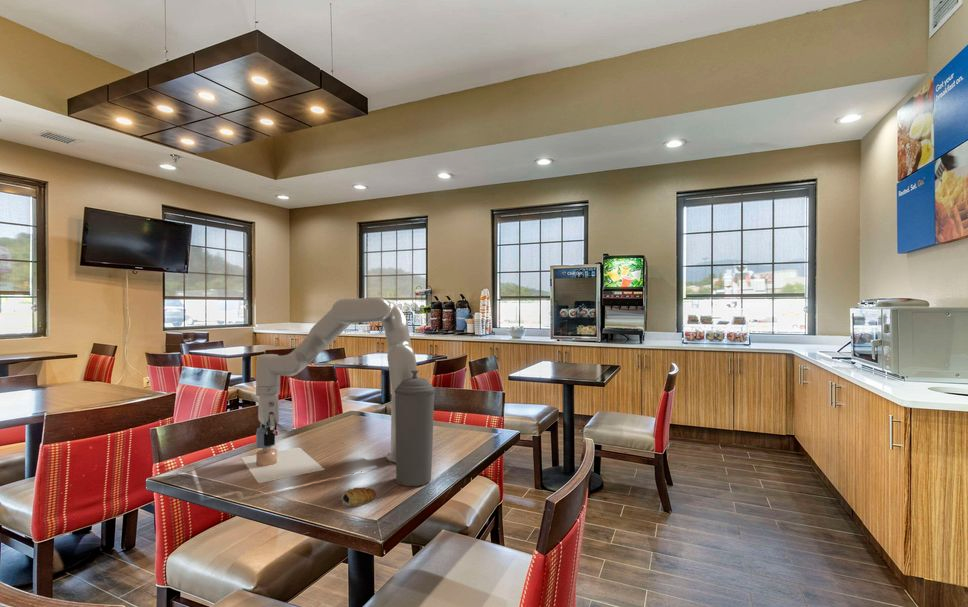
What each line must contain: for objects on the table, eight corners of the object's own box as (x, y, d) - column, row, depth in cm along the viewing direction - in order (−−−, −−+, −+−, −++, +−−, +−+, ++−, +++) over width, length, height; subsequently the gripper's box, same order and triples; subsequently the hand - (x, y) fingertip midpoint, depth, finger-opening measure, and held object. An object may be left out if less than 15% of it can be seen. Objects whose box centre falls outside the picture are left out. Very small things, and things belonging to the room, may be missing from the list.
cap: (277, 443, 154) (278, 426, 154) (267, 448, 149) (268, 430, 149) (263, 443, 155) (263, 426, 155) (252, 447, 150) (253, 429, 150)
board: (325, 472, 146) (325, 469, 146) (258, 486, 134) (258, 483, 134) (299, 450, 170) (299, 447, 170) (240, 460, 158) (240, 457, 158)
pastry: (369, 493, 130) (369, 480, 131) (381, 500, 126) (381, 487, 126) (339, 502, 124) (339, 488, 124) (350, 510, 119) (350, 496, 119)
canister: (440, 483, 138) (442, 371, 139) (402, 492, 131) (403, 373, 132) (423, 471, 148) (425, 366, 149) (387, 478, 142) (388, 368, 143)
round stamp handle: (279, 463, 151) (279, 431, 152) (258, 467, 148) (259, 434, 148) (274, 458, 157) (275, 427, 157) (254, 462, 153) (255, 430, 153)
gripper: (286, 392, 148) (285, 447, 148) (273, 385, 162) (272, 435, 161) (261, 395, 144) (260, 451, 143) (251, 387, 157) (249, 439, 157)
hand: (267, 442), depth 152 cm, fingers closed on cap, 5 cm apart
